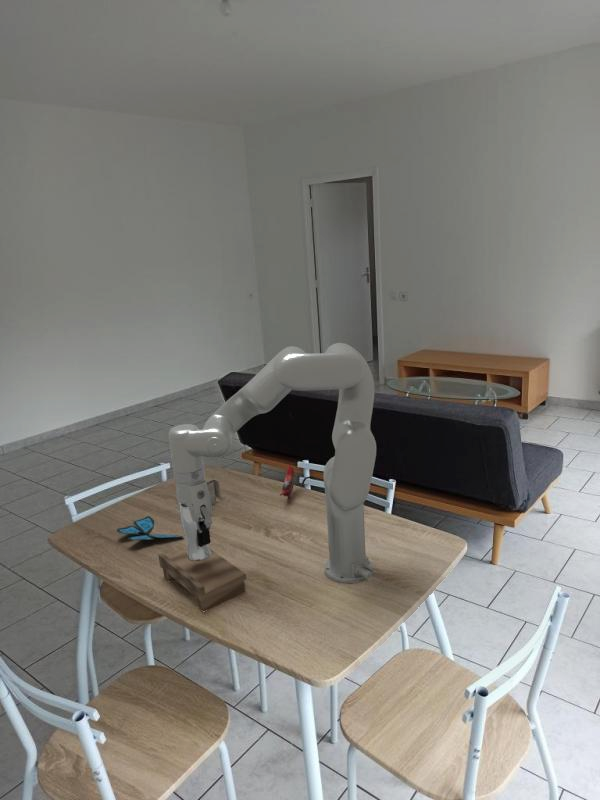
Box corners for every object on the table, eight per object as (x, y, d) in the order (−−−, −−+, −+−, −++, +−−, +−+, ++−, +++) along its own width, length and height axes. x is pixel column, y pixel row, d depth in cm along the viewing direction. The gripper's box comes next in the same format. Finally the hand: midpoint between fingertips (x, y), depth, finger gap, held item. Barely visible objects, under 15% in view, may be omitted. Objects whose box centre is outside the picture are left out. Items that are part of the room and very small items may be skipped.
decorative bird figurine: (297, 489, 204) (295, 463, 202) (285, 512, 188) (283, 484, 185) (289, 489, 205) (287, 463, 202) (277, 512, 188) (274, 484, 186)
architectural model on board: (196, 514, 193) (192, 487, 190) (190, 511, 195) (186, 484, 192) (222, 501, 201) (219, 475, 198) (216, 499, 203) (213, 473, 200)
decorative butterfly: (109, 532, 181) (108, 524, 180) (150, 519, 190) (150, 511, 190) (141, 558, 167) (141, 549, 166) (185, 542, 176) (184, 533, 176)
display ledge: (247, 591, 147) (245, 567, 145) (203, 614, 140) (199, 588, 138) (203, 558, 164) (201, 536, 162) (161, 577, 156) (158, 554, 154)
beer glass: (181, 562, 147) (174, 508, 143) (190, 547, 153) (184, 495, 149) (208, 563, 146) (201, 508, 141) (216, 548, 152) (210, 496, 148)
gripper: (220, 479, 139) (228, 546, 144) (185, 461, 152) (193, 523, 157) (193, 489, 135) (201, 558, 139) (159, 469, 148) (168, 533, 153)
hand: (197, 539), depth 148 cm, fingers closed on beer glass, 6 cm apart
